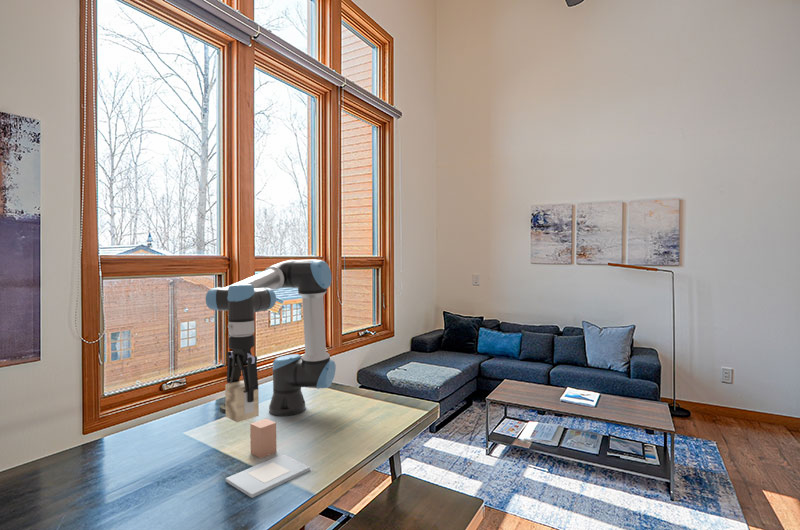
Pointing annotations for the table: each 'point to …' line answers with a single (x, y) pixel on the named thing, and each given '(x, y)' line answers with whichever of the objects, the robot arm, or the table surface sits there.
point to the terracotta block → (263, 438)
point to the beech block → (239, 402)
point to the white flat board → (267, 475)
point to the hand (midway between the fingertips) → (242, 409)
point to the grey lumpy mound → (223, 407)
